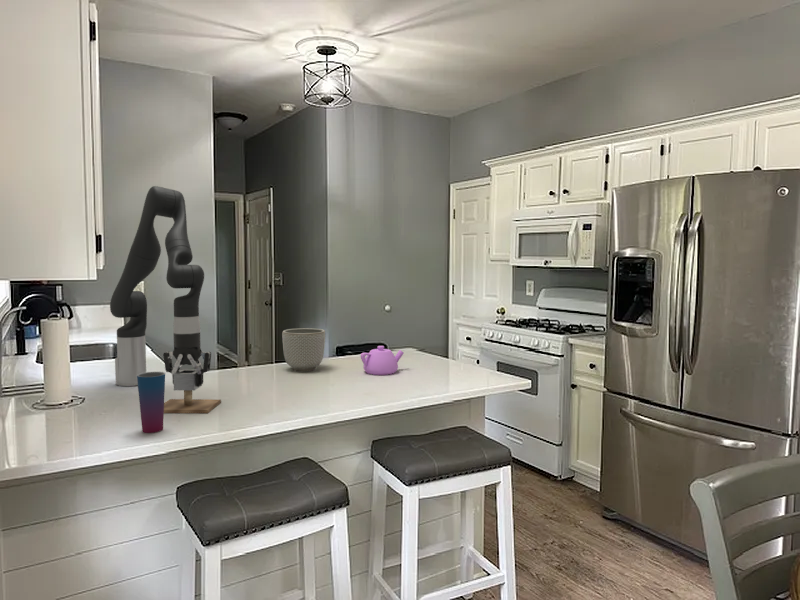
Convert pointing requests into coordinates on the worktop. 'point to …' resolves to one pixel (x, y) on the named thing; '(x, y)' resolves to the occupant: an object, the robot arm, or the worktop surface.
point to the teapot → (381, 361)
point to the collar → (185, 380)
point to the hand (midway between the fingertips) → (188, 385)
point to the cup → (151, 400)
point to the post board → (191, 408)
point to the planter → (303, 348)
